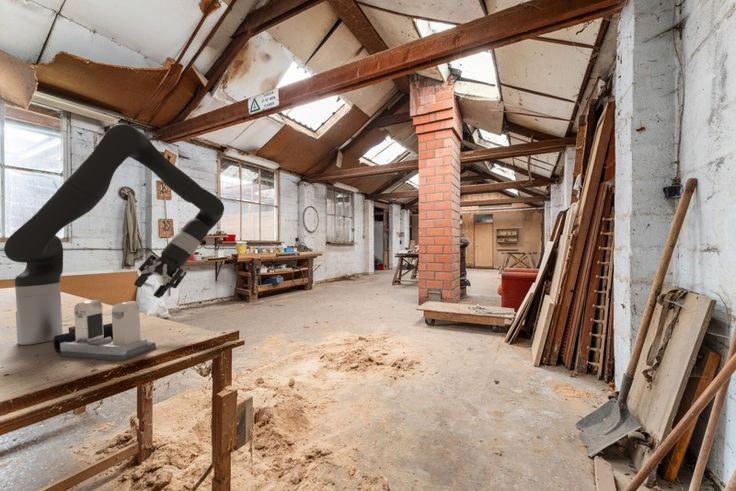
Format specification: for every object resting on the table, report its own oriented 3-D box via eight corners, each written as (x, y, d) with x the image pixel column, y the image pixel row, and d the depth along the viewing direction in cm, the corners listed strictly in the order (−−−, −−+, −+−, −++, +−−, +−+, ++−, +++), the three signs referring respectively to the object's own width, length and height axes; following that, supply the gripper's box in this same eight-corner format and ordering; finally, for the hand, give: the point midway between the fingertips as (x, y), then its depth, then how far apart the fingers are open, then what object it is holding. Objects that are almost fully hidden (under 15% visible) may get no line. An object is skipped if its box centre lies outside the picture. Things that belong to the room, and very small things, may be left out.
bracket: (60, 356, 78) (58, 305, 78) (98, 344, 87) (96, 298, 86) (122, 361, 74) (119, 306, 73) (155, 347, 83) (153, 299, 82)
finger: (112, 349, 78) (110, 303, 77) (128, 344, 82) (126, 300, 81) (125, 350, 77) (123, 304, 76) (140, 345, 81) (138, 301, 80)
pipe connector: (42, 330, 85) (107, 317, 98) (43, 349, 85) (107, 333, 98) (61, 336, 80) (126, 321, 93) (62, 356, 80) (127, 338, 93)
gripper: (157, 235, 97) (120, 278, 91) (190, 250, 93) (153, 296, 87) (173, 246, 104) (139, 287, 97) (204, 260, 100) (171, 304, 94)
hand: (146, 291), depth 92 cm, fingers open, 8 cm apart
